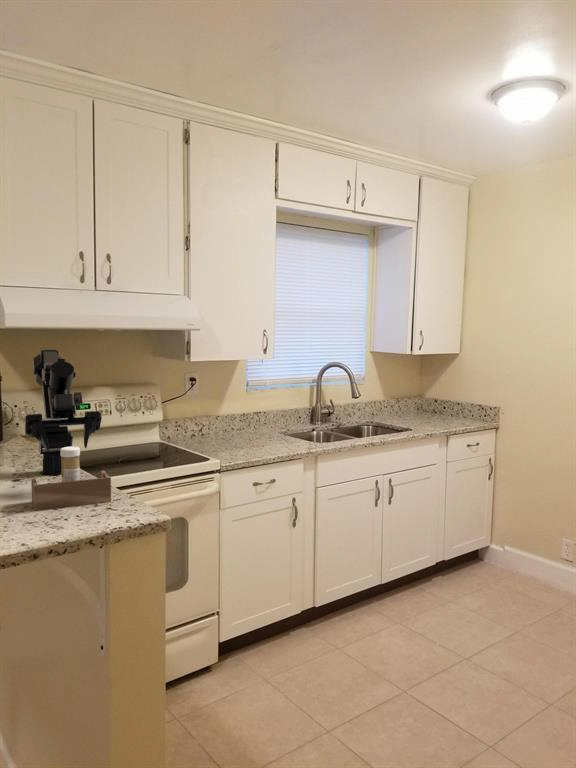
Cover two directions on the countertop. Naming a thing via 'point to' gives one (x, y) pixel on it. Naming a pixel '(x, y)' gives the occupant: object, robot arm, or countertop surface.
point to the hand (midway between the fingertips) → (67, 448)
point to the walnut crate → (71, 492)
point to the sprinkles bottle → (70, 464)
